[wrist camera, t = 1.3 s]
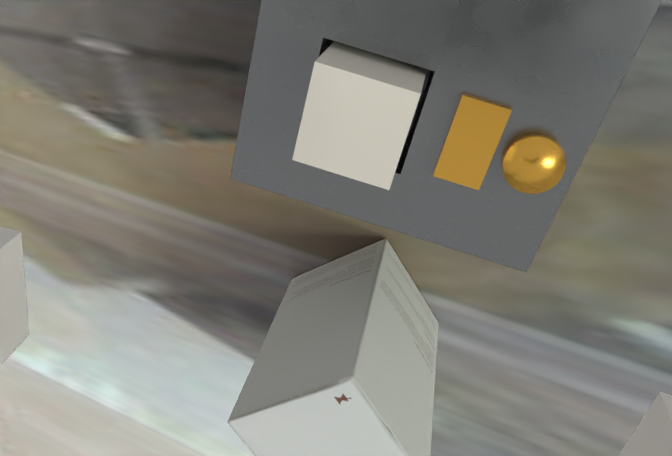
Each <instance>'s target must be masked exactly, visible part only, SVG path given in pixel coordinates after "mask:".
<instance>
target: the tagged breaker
mask: <svg viewBox="0 0 672 456" xmlns="http://www.w3.org/2000/svg"><path fill="white" fill-rule="evenodd" d="M426 71H427V69H425V68H422V67H419V66H415V65H412V64H409V63H406V62H402V61H399V60H396V59H392V58H389V57H386V56H382V55H379V54H376V53H373V52H369V51H366V50H363V49H359V48H356V47H353V46H349V45H346V44H343V43H340V42H336V41H334V42H333V43H332V44H331V45H330V46H329V47H328V48H327V49H326V50H325V51H324V52H323V53H322V55H321V56H320V57H319V58H318V59H317V60H316V61H315V63H314V67H313V71H312V76H311V80H310V84H309V89H308V93H307V98H306V102H305V106H304V111H303V115H302V119H301V124H300V128H299V132H298V137H297V141H296V145H295V150H294V154H293V158H292V160H294V161H297V162H300V163H304V164H307V165H310V166H313V167H316V168H320V169H323V170H326V171H329V172H332V173H336V174H339V175H342V176H345V177H348V178H352V179H355V180H358V181H361V182H364V183H368V184H371V185H374V186H377V187H380V188H383V189H387V190H389V189H390V186H391V183H392V180H393V177H394V174H395V171H396V168H397V165H398V162H399V159H400V156H401V153H402V150H403V147H404V144H405V141H406V138H407V135H408V132H409V129H410V126H411V123H412V120H413V117H414V113H415V110H416V107H417V104H418V101H419V98H420V95H421V92H422V88H423V84H424V80H425V75H426Z"/></svg>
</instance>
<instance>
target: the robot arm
mask: <svg viewBox="0 0 672 456" xmlns="http://www.w3.org/2000/svg"><path fill="white" fill-rule="evenodd" d="M28 335H29V323H28V311H27V298H26V286H25V274H24V261H23V249H22V236H21V232H20V231H16V230H12V229H8V228H4V227H0V366H1V365H2V364H3V363H4V362H5V360H6V359H7V358H8V357H9V356H10V355H11V354H12V353H13V352H14V351H15V350H16V348H17V347H18V346H19V345H20V344H21V343H22V342H23V341H24V340H25V339H26V338H27V336H28ZM618 456H672V395H670V394H666V393H662V392H659V394H658V395H657V397H656V398H655V400H654V401H653V403H652V404H651V406H650V407H649V409H648V411H647V412H646V414H645V415H644V417H643V418H642V420H641V421H640V423H639V424H638V426H637V427H636V429H635V430H634V432H633V433H632V435H631V437H630V438H629V440H628V441H627V443H626V444H625V446H624V447H623V449H622V450H621V452H620V453H619V455H618Z"/></svg>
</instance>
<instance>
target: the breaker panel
mask: <svg viewBox="0 0 672 456" xmlns="http://www.w3.org/2000/svg"><path fill="white" fill-rule="evenodd" d="M661 2H662V0H261V6H260V11H259V17H258V23H257V29H256V34H255V40H254V46H253V51H252V57H251V63H250V68H249V74H248V80H247V85H246V91H245V97H244V103H243V108H242V114H241V120H240V125H239V131H238V137H237V142H236V148H235V154H234V159H233V165H232V171H231V177H230V179H233V180H236V181H239V182H242V183H246V184H249V185H252V186H255V187H258V188H261V189H265V190H268V191H271V192H274V193H277V194H280V195H284V196H287V197H290V198H293V199H296V200H299V201H302V202H306V203H309V204H312V205H315V206H318V207H321V208H325V209H328V210H331V211H334V212H337V213H340V214H344V215H347V216H350V217H353V218H356V219H359V220H363V221H366V222H369V223H372V224H375V225H378V226H382V227H385V228H388V229H391V230H394V231H397V232H401V233H404V234H407V235H410V236H413V237H416V238H420V239H423V240H426V241H429V242H432V243H435V244H438V245H442V246H445V247H448V248H451V249H454V250H457V251H461V252H464V253H467V254H470V255H473V256H476V257H480V258H483V259H486V260H489V261H492V262H495V263H499V264H502V265H505V266H508V267H511V268H514V269H518V270H521V271H524V272H527V270H528V268H529V266H530V264H531V262H532V260H533V258H534V256H535V254H536V252H537V250H538V248H539V246H540V244H541V242H542V240H543V238H544V236H545V234H546V232H547V230H548V228H549V226H550V224H551V222H552V220H553V218H554V216H555V214H556V212H557V210H558V208H559V206H560V204H561V202H562V200H563V198H564V196H565V194H566V192H567V190H568V188H569V186H570V184H571V182H572V180H573V178H574V176H575V174H576V172H577V170H578V168H579V166H580V164H581V162H582V160H583V158H584V156H585V154H586V152H587V150H588V148H589V146H590V144H591V142H592V140H593V138H594V136H595V134H596V132H597V130H598V128H599V126H600V124H601V122H602V120H603V118H604V116H605V114H606V112H607V110H608V108H609V106H610V104H611V102H612V100H613V98H614V96H615V94H616V92H617V90H618V88H619V86H620V84H621V82H622V80H623V78H624V76H625V74H626V72H627V70H628V68H629V66H630V64H631V62H632V60H633V58H634V56H635V54H636V52H637V50H638V48H639V46H640V44H641V42H642V40H643V38H644V36H645V34H646V32H647V30H648V28H649V26H650V24H651V22H652V20H653V18H654V16H655V14H656V12H657V10H658V8H659V6H660V4H661ZM334 41H336V42H340V43H343V44H346V45H349V46H353V47H356V48H359V49H363V50H366V51H369V52H373V53H376V54H379V55H382V56H386V57H389V58H392V59H396V60H399V61H402V62H406V63H409V64H412V65H415V66H419V67H422V68H425V69H427V71H426V75H425V80H424V84H423V88H422V92H421V95H420V98H419V101H418V104H417V107H416V110H415V113H414V117H413V120H412V123H411V126H410V129H409V132H408V135H407V138H406V141H405V144H404V147H403V150H402V153H401V156H400V159H399V162H398V165H397V168H396V171H395V174H394V177H393V180H392V183H391V186H390V189H389V190H387V189H383V188H380V187H377V186H374V185H371V184H368V183H364V182H361V181H358V180H355V179H352V178H348V177H345V176H342V175H339V174H336V173H332V172H329V171H326V170H323V169H320V168H316V167H313V166H310V165H307V164H304V163H300V162H297V161H294V160H292V158H293V154H294V150H295V145H296V141H297V137H298V132H299V128H300V124H301V119H302V115H303V111H304V106H305V102H306V98H307V93H308V89H309V84H310V80H311V76H312V71H313V67H314V63H315V61H316V60H317V59H318V58H319V57H320V56H321V55H322V53H323V52H324V51H325V50H326V49H327V48H328V47H329V46H330V45H331V44H332V43H333V42H334Z"/></svg>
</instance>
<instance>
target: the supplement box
mask: <svg viewBox="0 0 672 456" xmlns="http://www.w3.org/2000/svg"><path fill="white" fill-rule="evenodd" d="M438 328H439V323H438V321H437V320H436V318H435V317H434V315H433V313H432V311H431V310H430V308H429V306H428V305H427V303H426V302H425V300H424V298H423V297H422V295H421V293H420V292H419V290H418V289H417V287H416V285H415V284H414V282H413V281H412V279H411V277H410V276H409V274H408V272H407V271H406V269H405V268H404V266H403V264H402V263H401V261H400V260H399V258H398V256H397V255H396V253H395V251H394V250H393V248H392V247H391V245H390V243H389V242H388V240H387V239H383V240H381V241H378V242H376V243H373V244H371V245H368V246H366V247H364V248H362V249H359V250H357V251H355V252H352V253H350V254H347V255H345V256H343V257H341V258H338V259H336V260H333V261H331V262H329V263H326V264H324V265H322V266H319V267H317V268H315V269H313V270H310V271H308V272H305V273H303V274H301V275H299V276H297V277H295V278H293V279H292V280H291V282H290V284H289V286H288V289H287V291H286V293H285V295H284V297H283V299H282V302H281V304H280V306H279V308H278V311H277V313H276V315H275V318H274V320H273V322H272V324H271V326H270V329H269V331H268V333H267V335H266V338H265V340H264V342H263V344H262V346H261V349H260V351H259V353H258V355H257V357H256V360H255V362H254V364H253V366H252V369H251V371H250V373H249V375H248V377H247V380H246V382H245V384H244V387H243V389H242V391H241V393H240V395H239V398H238V400H237V402H236V404H235V407H234V409H233V411H232V413H231V415H230V418H229V420H228V424H229V425H230V426H231V427H232V429H233V430H234V431H235V432H236V433H237V435H238V436H239V437H240V438H241V439H242V441H243V442H244V443H245V444H246V445H247V446H248V448H249V449H250V450H251V451H252V452H253V454H254V455H255V456H430V453H431V438H432V421H433V404H434V387H435V371H436V356H437V343H438Z"/></svg>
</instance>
